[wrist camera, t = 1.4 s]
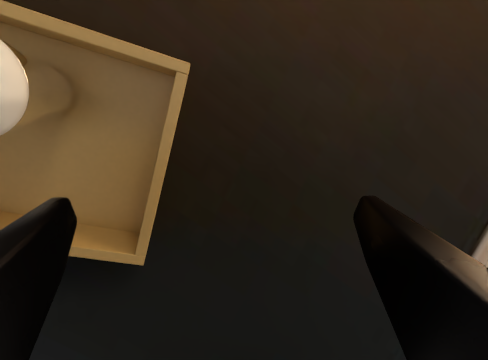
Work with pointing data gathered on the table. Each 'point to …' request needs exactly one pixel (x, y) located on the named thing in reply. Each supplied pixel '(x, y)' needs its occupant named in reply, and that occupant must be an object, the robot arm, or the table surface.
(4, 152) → the tray
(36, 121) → the milkshake
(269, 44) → the table surface
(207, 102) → the table surface
